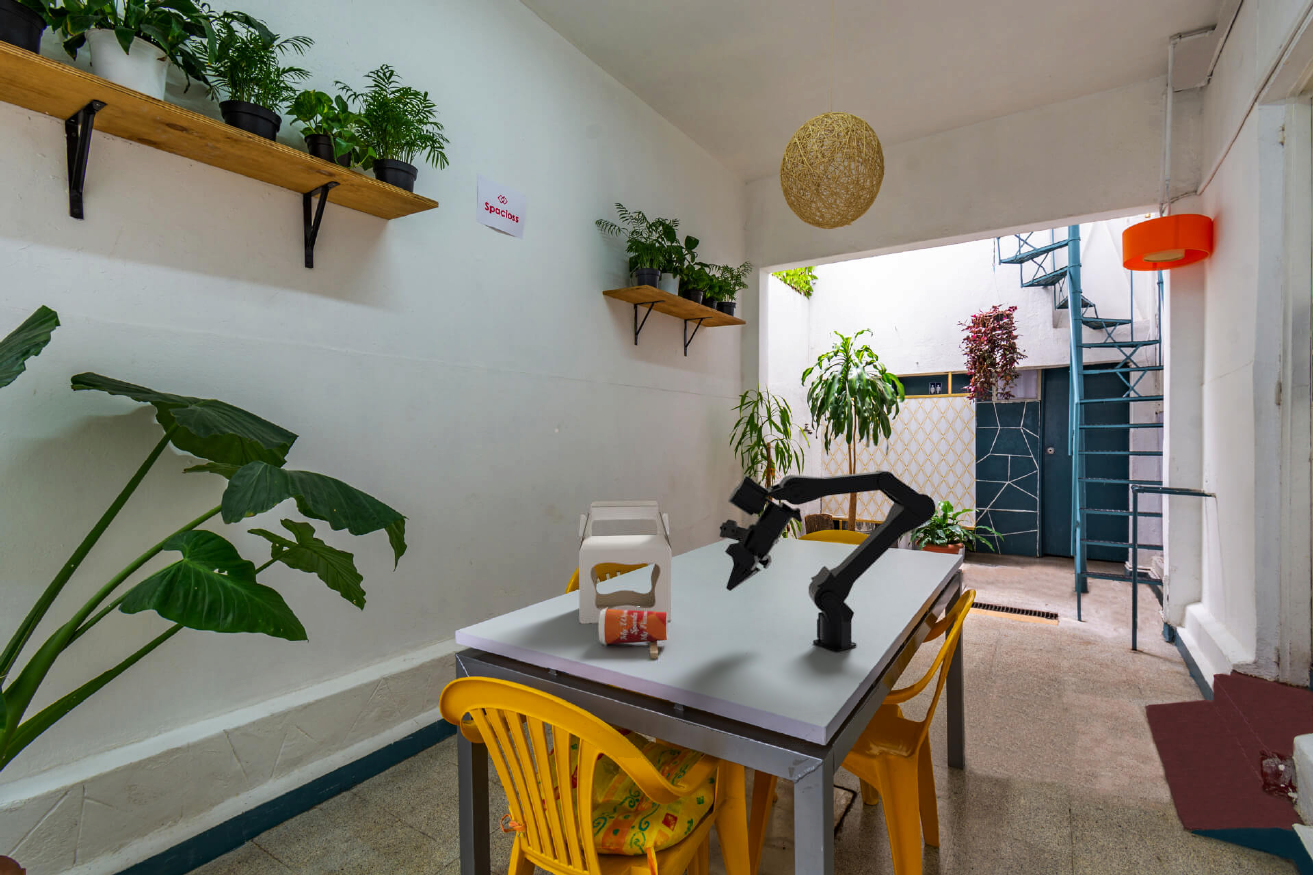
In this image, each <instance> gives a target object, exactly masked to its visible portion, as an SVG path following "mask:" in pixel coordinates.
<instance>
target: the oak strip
mask: <svg viewBox="0 0 1313 875" xmlns="http://www.w3.org/2000/svg"><path fill="white" fill-rule="evenodd" d="M658 648H659V646H658V641H649V655H650V656H649V658H650V659H651V660H652V659H653V660H655V659H659V651H658V650H659V649H658Z"/></svg>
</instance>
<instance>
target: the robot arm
mask: <svg viewBox="0 0 1313 875" xmlns="http://www.w3.org/2000/svg"><path fill="white" fill-rule="evenodd" d="M876 491H880V492H882V493H883V495H885V496H886V498H888V500H890V501H891V502H893V504H892V505H891V506H890V509H889V512H888V513H887V515H886V518H885V520H884V521H882V523H880V525H878V526H877V528H876V529H874V530H873V532H872V533H871V534H869V535H868V536H867V537H866V538H865V539H864V541H862V542H861V543H860V544H859V545H858V546H857V547H856V548H855V549H854V550H852V552H851V553H850V554H849V555H848V556H847V557H846V558H845V559H844V560H842V562H841V563H840V564H839V565H837V566H835V567H833V568H831V569H829V568H828V566H826V565H824V566H823V567H822V568H820V570H819V572H818V573H817V574H816V575H814V576H812V577H811V578H810V579H811V582H810V583H809V585H808V595H809V598H810V599H811V601H812V602H813V603H814V606H816V608H817V609H818V610H820V611H821V612H818V613H817V619H816V638H817V639H814V640H812V643H813V644H815V645H817V646H820V647H823V648H825V649H828V650H829V651H833V652H835V653H837V652H838V653H839V652H841V651H845V650H848V649H851V648H855V647H857V646H858V644H857V642H854V641H852V635H853V634H852V621H853V617H854V615H855V612H854V611H853V609H852V608H851V607H850V606H849V605H848V603H847V602H845V601H846V600H847V598H848V597H849V594H850V592H851V590H852V589H853V586H854V584H855V582H856V581H857V580H858V579H860V577H861V576H862V575H863V574H864V573H866V571H868V569H870V568H871V567H872V565H874V563H875V562H877V561H878V560H879V559H880V558H881V557H882V556H883V555H884V554H885V553H886V552H887V551H888V550H889V549H890V548H891V547H892V546H893V545H894V544H896V542H898V540H900V538H901V537H902V536H903V535H905V534H907V533H909V532H912V531H914V530H916V529H919V528H920V527H921V526H923V525H924V524H926V523H927V522H928V521H930V520H931V519H933V517H934V516H935V514H936V512H937V511H936V503H935V500H933V498H932V497H931V496H930V495H928V494H925V493H922V492H918V491H916V490H915V489H913V488H912V487H911V486H909V485H908V484H906V483H905V482H903V481H901V480H900V479H899V478H898V477H897V476H895V474H893V473H892V472H891V471H887V470H883V469H882V470H880V469H879V470H876V471H871V472H869V471H868V472H863V473H861V472H860V473H852V474H842V475H841V474H840V475H834V476H833V475H832V476H823V477H819V476H809V475H800V474H799V475H796V474H789V475H785V476H784V477H783V478H782V479H781V480H780V482H779V483H777V484H774V485H771V486H768V487H764V486H762V485H761V484H759V483H758V482H756V481H755V480H754V479H753V478H751V477H749V476H748V475H744V477H743V478H742V480H741V481H740V482H739V483H738V484H737V486H735V488H734V489H733V491H732V492H731V494H730V496H729V498H728V500H727V501H728V503H729V504H731V505H733V506H734V507H735V508H736V509H739V510H741V512H743V513H745V514H747V515H748V516H750V517H751V516H753V515H756V516H758V515H760V516H759V517H758V519H757V520H756V521H755V523H752V524H751V523H750V524H749V526H748V528H746V527H743V526H740V525H738V522H737V521H736V520H732V519H727V520H726V521H725V522H722V523H721V525H720V526H719V530H720V531H719V532H720V533H719V537H721V538H722V539H723V538H724V539H726V538H727V539H729V540H730V539H731V540H734V541H738V542H733V543H730V544H729V545H728V546H727V548H726V549H725V551H724V552H725V554H727V555H728V556H730V557H731V559H732V563H733V566H732V570H731V572H730V576H729V578H728V581H727V583H726V587H725V588H726V589H727V591H729V592H732V591H733V590H734V589H735V588H737V587H738V586H740V585H742V584H744V582H747V581H748V580H749V579H751V578H752V577H754V576H755V575H756V574H758V573H759V572H761V571H762V570H761V569H760V568H759V567H758V565H759V564H760V565H761V566H763V567H762V568H763V569H765V570H766V569H768V568H769V567H770V565H771V564H772V556H771V555H770V552H771V551H772V549H773V548H774V547H775V545H777V544H778V543H779V542H780V539H779V538H780V536H781V535H782V534H783V533H784V531H785V530H786V528H787V526H788V525H789V524H790V521H791V520H792V519H794V520H795V521H797V522H799V523H802V522H803V517H802V516H801V508H799V507H796V508H793V507H791V506H789V505H788V504H786V503H785V502H783V501H786V502H787V503H789V504H790V505H794V506H795V505H796V506H799V505H803V504H807V503H809V502H813V501H816V500H819V499H822V498H824V497H828V496H835V495H847V494H856V493H866V492H876ZM768 497H770V498H772V499H774V500H775V501H782V502H779V503H778V504H777V503H776V502H774V501H772V500H771V499H769V498H768ZM766 504H767V505H766ZM761 512H762V513H761ZM760 513H761V514H760Z"/></svg>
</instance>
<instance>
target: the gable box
mask: <svg viewBox="0 0 1313 875" xmlns="http://www.w3.org/2000/svg"><path fill="white" fill-rule="evenodd" d="M668 515H669V514H668V512H663V513H662V514H661V511H659V505H658V502H657V501H656V500H655V499H650V500H648V499H647V500H645V499H644V500H595V501H594V500H593V501H592V502H591V503H590V508H589V512H588V513H587V515H586V514H584V513H583V514H580V520H579V530H578V536H579V537H581V538H580V544H579V548H578V587H579V588H578V590H579V591H578V592H579V594H578V599H579V601H578V603H579V606H578V609H579V610H578V611H579V612H578V616H579V619H578V620H579V624H580V623H581V624H580V625H582V624H583V625H587V624H589V623H592V624H599V615H600V612H601V610H603V609H606V608H607V607H608V608H609V609H616V610H636V611H655V612H667V616H668V622H671V621H672V620H673V619H672V618H673V615H672V614H673V612H672V609H673V608H672V603H673V601H672V596H673V594H672V593H673V592H672V588H673V587H672V580H673V579H672V546H671V543H670V540H669V537H668V535H670V526H669V516H668ZM611 520H612V521H613V520H615V521H616V520H619V521H620V520H649V521H651V520H653V521H655V522H656V534H654V533H653V534H652V533H651V534H649V533H647V534H610V535H609V534H608V535H607V534H606V535H605V534H603V535H601V534H600V535H593V527H592V526H593V523H594V522H595V521H596V522H597V521H611ZM604 563H605V564H606V563H612V564H620V565H629V566H631V565H640V564H641V565H642V564H649V563H650V564H654V566H653V569H652V571H651V574H650V582H651V583H650V585H651V586H650V587H651V589H650V591H649V592H646V593H641V592H638V591H634V590H618V591H613V592H609V593H599V592H598V591H597V584H598V576H597V572H596V569H595V566H596V565H600V564H604ZM637 606H640V607H637Z"/></svg>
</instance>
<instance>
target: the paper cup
mask: <svg viewBox="0 0 1313 875" xmlns="http://www.w3.org/2000/svg"><path fill="white" fill-rule="evenodd" d="M668 623H669V621H668V616H667V612H655V611H636V610H616V609H609V608H608V607H607V608H606V609H603V610H601V612H600V615H599V623H598V629H597V630H598V641H599V642H600V643H601V644H603V645H605V646H608V645H615V644H629V643H630V644H632V643H646V642H649V643H650V641H657V642H659V641H661V642H662V641H668V638H669V624H668Z"/></svg>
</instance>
